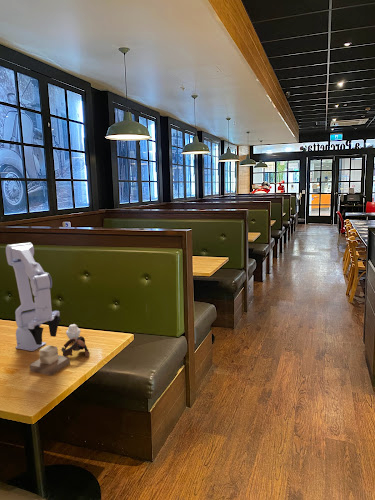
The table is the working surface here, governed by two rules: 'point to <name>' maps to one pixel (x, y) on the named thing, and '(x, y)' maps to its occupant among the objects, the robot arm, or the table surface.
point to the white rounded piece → (73, 331)
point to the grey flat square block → (49, 366)
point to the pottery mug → (75, 346)
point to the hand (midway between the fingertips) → (46, 340)
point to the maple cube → (48, 354)
